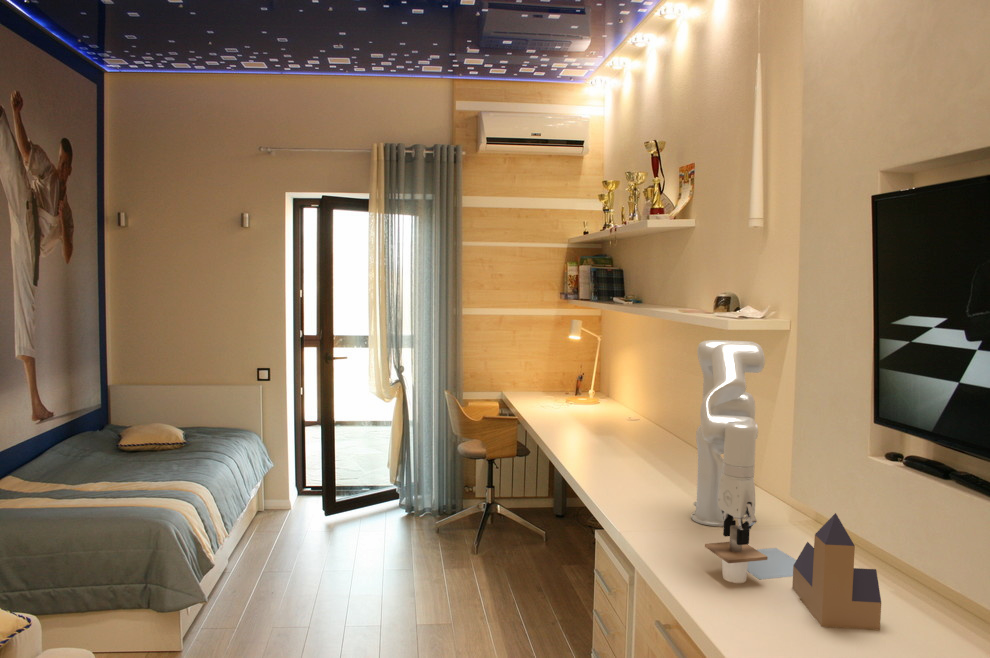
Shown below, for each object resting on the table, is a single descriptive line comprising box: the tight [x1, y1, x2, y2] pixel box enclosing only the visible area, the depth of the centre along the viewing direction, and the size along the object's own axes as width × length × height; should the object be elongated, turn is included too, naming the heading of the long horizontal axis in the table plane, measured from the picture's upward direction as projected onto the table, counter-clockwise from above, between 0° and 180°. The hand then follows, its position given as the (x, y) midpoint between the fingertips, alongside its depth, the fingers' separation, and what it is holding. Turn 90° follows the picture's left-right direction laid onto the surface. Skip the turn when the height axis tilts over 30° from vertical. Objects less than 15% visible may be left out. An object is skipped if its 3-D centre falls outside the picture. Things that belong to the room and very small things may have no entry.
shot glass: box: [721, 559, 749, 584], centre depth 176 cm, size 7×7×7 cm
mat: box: [747, 547, 797, 580], centre depth 187 cm, size 18×18×1 cm
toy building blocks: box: [791, 512, 882, 631], centre depth 161 cm, size 12×19×25 cm, turn 175°
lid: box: [704, 524, 768, 563], centre depth 176 cm, size 11×11×7 cm
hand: (735, 539), depth 176 cm, fingers open, 5 cm apart
